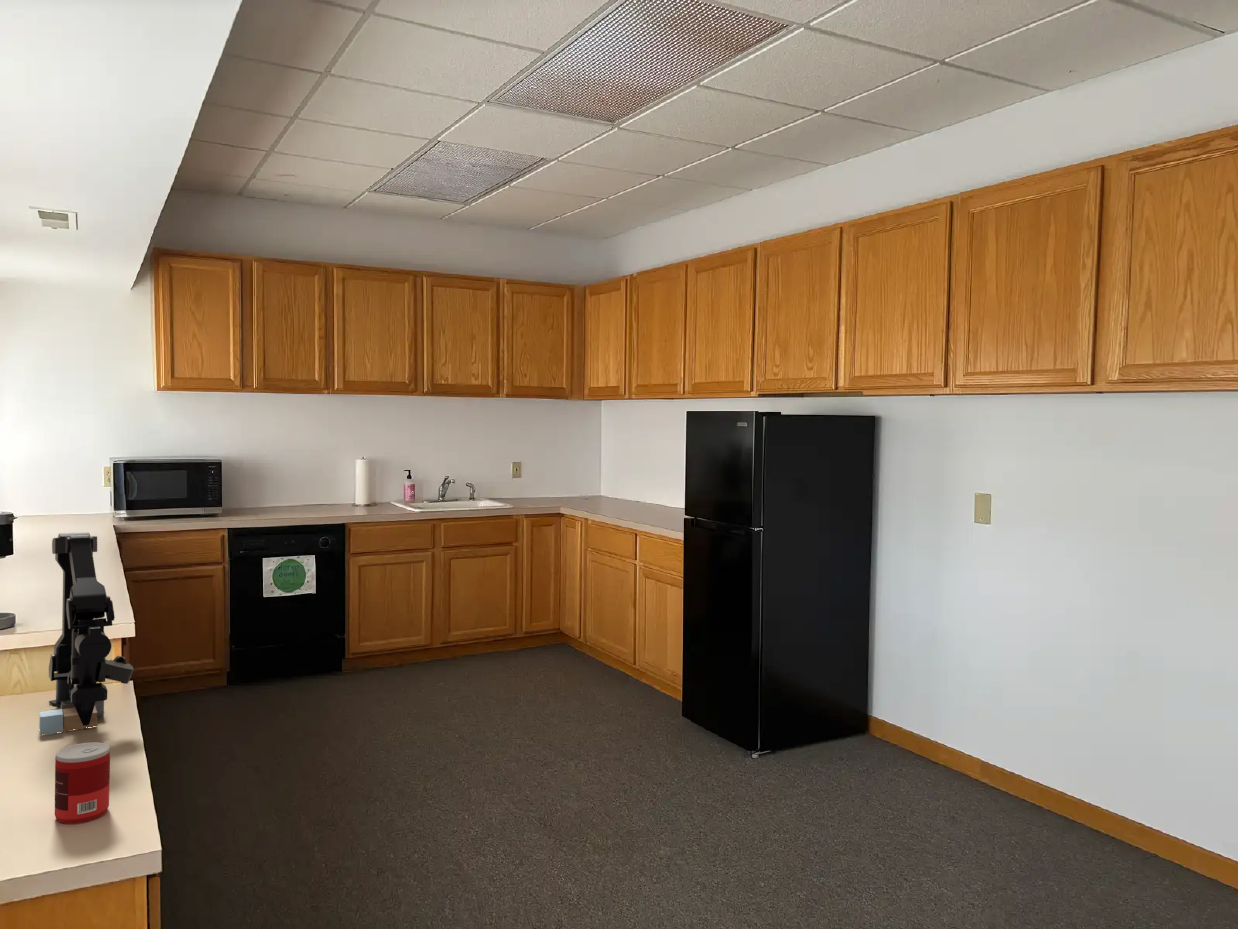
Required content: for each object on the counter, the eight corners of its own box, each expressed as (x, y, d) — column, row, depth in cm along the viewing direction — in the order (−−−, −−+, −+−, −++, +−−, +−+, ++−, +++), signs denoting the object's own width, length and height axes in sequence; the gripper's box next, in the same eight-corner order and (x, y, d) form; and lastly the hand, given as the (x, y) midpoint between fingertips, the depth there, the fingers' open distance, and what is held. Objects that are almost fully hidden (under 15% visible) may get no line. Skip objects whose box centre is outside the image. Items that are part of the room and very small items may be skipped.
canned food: (119, 806, 153) (120, 743, 153) (86, 826, 145) (88, 760, 145) (77, 803, 154) (78, 740, 153) (43, 823, 146) (44, 757, 145)
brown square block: (62, 724, 193) (62, 708, 192) (94, 720, 196) (94, 704, 196) (63, 733, 188) (64, 716, 188) (96, 728, 191) (97, 712, 191)
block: (39, 730, 188) (39, 711, 188) (61, 727, 190) (61, 709, 190) (39, 736, 185) (40, 717, 185) (62, 733, 187) (62, 714, 187)
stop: (60, 719, 195) (60, 701, 195) (102, 714, 199) (103, 696, 199) (61, 723, 192) (61, 705, 192) (103, 718, 197) (104, 700, 197)
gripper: (135, 657, 183) (134, 732, 184) (126, 638, 199) (125, 707, 199) (72, 663, 177) (71, 740, 177) (68, 643, 192) (66, 714, 193)
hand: (86, 725), depth 187 cm, fingers closed
